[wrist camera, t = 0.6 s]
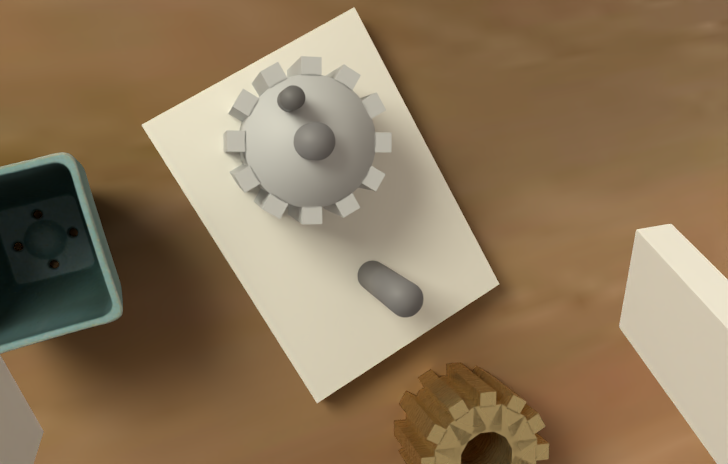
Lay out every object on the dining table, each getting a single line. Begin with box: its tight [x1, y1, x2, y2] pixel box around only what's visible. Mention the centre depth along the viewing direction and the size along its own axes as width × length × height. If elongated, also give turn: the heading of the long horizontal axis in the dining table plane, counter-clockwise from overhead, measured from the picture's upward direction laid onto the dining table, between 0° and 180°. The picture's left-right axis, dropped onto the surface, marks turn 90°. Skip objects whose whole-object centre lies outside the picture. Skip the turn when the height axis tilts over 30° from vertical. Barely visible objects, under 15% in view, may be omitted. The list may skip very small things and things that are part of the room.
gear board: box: [142, 8, 499, 403], centre depth 39 cm, size 21×15×10 cm
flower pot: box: [0, 152, 123, 354], centre depth 36 cm, size 9×9×9 cm
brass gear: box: [394, 363, 549, 464], centre depth 45 cm, size 9×9×6 cm
